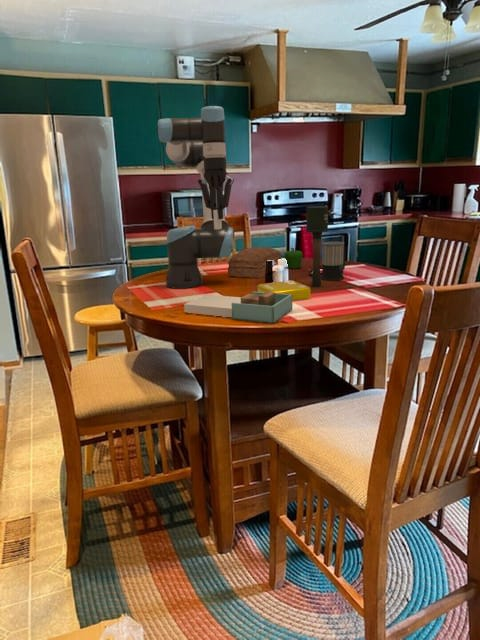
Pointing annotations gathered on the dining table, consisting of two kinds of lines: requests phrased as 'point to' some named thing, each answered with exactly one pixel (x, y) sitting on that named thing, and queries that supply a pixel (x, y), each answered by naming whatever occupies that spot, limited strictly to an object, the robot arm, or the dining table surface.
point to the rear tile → (250, 299)
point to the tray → (263, 309)
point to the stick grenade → (317, 236)
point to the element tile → (287, 289)
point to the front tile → (267, 299)
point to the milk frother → (332, 261)
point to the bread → (251, 262)
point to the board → (212, 305)
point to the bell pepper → (293, 258)
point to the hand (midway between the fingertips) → (218, 228)
